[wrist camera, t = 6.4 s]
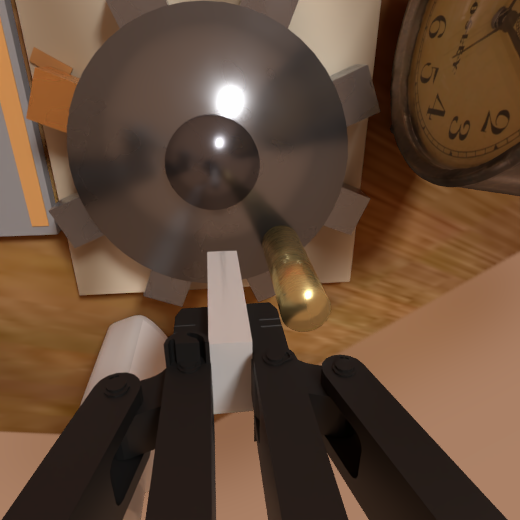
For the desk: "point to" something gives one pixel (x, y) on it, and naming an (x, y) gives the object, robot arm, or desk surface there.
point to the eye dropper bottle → (135, 362)
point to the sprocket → (209, 147)
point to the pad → (20, 145)
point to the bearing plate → (104, 24)
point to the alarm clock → (459, 93)
